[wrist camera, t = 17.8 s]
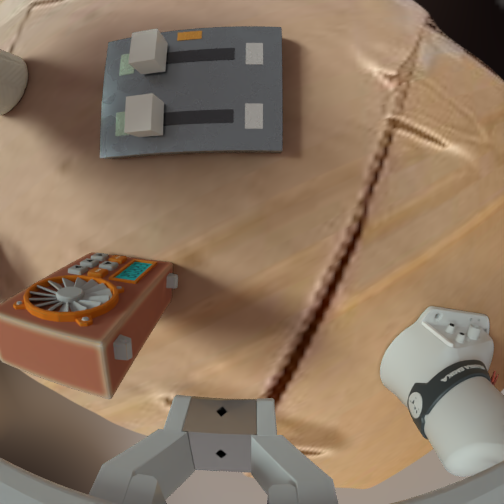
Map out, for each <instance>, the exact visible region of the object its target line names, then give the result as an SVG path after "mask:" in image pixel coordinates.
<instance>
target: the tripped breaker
mask: <svg viewBox="0 0 504 504" xmlns="http://www.w3.org/2000/svg"><path fill="white" fill-rule="evenodd" d="M167 45H168V43H167V41H166V40H165V38H164V37H163V36H162V34H161V33H160V31H159V30H158V29H151V30H145V31H140V32H134V33H132V38H131V45H130V54H129V64H130V65H131V66H132V67H133V68H135V69H136V70H137V71H138V72H139V73H140V74H149V73H157V72H165V70H166V57H167Z"/></svg>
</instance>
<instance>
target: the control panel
mask: <svg viewBox="0 0 504 504" xmlns="http://www.w3.org/2000/svg"><path fill="white" fill-rule="evenodd" d="M177 287H178V275H177V274H173V264H172V263H170V262H161V261H153V260H145V259H137V258H129V257H126V256H119V255H108V254H104V253H89V254H87V255H85V256H84V257H82V258H80V259H78V260H76V261H74V262H72V263H70V264H69V265H67V266H65V267H63V268H61V269H59V270H58V271H56V272H54V273H52V274H50V275H49V276H47V277H45V278H43V279H42V280H40V281H38V282H36V283H35V284H33V285H31V286H29V287H28V288H26V289H24V290H23V291H21V292H19V293H18V294H16V295H14V296H13V297H11V298H9V299H8V300H6V301H4V302H3V303H1V304H0V359H1V361H2V362H4V363H6V364H8V365H11V366H13V367H15V368H18V369H20V370H22V371H25V372H27V373H30V374H32V375H35V376H38V377H40V378H43V379H46V380H49V381H51V382H54V383H57V384H60V385H63V386H66V387H69V388H72V389H75V390H79V391H82V392H85V393H89V394H92V395H96V396H99V397H103V398H106V399H111V398H112V397H113V395H114V394H115V392H116V390H117V388H118V387H119V385H120V383H121V382H122V380H123V378H124V377H125V375H126V373H127V371H128V370H129V368H130V366H131V365H132V363H133V361H134V360H135V358H136V356H137V355H138V353H139V351H140V350H141V348H142V347H143V345H144V343H145V342H146V340H147V338H148V337H149V335H150V333H151V332H152V330H153V329H154V327H155V325H156V324H157V322H158V321H159V319H160V317H161V316H162V314H163V313H164V311H165V309H166V308H167V306H168V305H169V303H170V302H171V300H172V288H174V289H175V288H177Z"/></svg>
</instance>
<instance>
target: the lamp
mask: <svg viewBox="0 0 504 504" xmlns="http://www.w3.org/2000/svg"><path fill="white" fill-rule="evenodd" d="M27 81H28V71H27V65H26V63H25V62H24V61H23V59H22V58H20V57H19V56H16V55H14V54H11V53H9V52H6V51H4V50H1V49H0V115H3V114H5V113H7V112H9V111H10V110H11V109H12V108H13V107H14V106H16V105H17V103H18V102H19V101H20V99H21V97H22V95H23V94H24V90H25V87H26V86H27Z"/></svg>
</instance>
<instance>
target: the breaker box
mask: <svg viewBox="0 0 504 504" xmlns="http://www.w3.org/2000/svg"><path fill="white" fill-rule="evenodd" d="M161 34H162V36H163V37H164V38H165V40H166V41H167V43H168V45H167V57H166V70H165V72H157V73H149V74H140V73H139V72H138V71H137V70H136V69H135V68H133V67H132V66H131V65H130V64H129V54H130V45H131V38H126V39H122V40H117V41H112V42H109V43H108V50H107V58H106V66H105V75H104V85H103V97H102V111H101V131H100V158H105V159H114V158H125V157H136V156H150V155H165V154H185V153H218V152H266V153H280V152H282V32H281V27H214V28H199V29H188V30H178V31H170V32H162V33H161ZM150 93H153V94H154V95H155V96H157V97H158V98H159V99H161V100H162V101H163V102H164V117H163V135H159V136H147V137H136V136H133V135H130V134H127V133H124V126H125V105H126V97H128V96H135V95H142V94H150Z"/></svg>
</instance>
